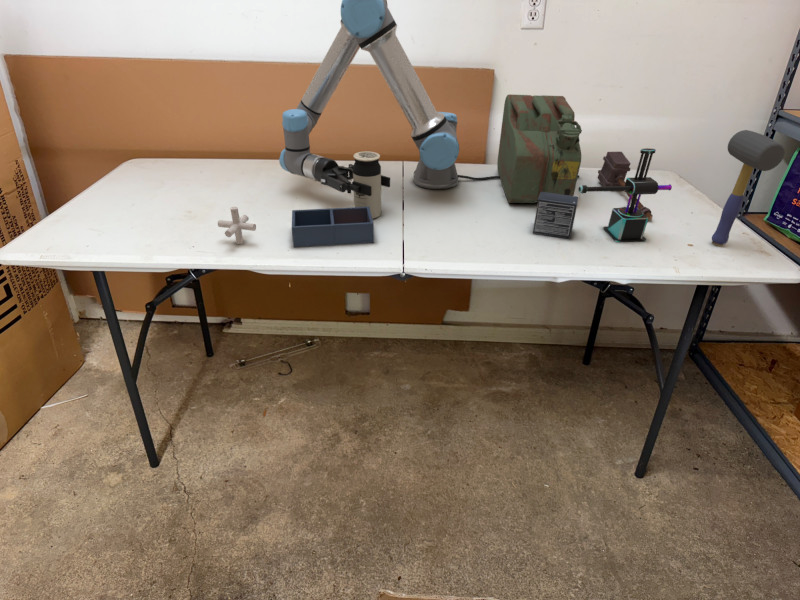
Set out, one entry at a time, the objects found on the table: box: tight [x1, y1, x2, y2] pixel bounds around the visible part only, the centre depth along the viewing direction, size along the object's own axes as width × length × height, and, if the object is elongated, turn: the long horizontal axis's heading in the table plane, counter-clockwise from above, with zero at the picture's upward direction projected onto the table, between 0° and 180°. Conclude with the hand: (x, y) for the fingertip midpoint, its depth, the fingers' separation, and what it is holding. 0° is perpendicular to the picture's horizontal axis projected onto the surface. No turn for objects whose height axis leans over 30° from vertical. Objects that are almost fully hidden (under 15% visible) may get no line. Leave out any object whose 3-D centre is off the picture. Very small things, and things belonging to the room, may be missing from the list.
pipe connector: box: [217, 206, 257, 245], centre depth 138 cm, size 10×10×10 cm
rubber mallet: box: [711, 129, 786, 247], centre depth 136 cm, size 12×8×30 cm, turn 5°
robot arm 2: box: [578, 147, 673, 243], centre depth 141 cm, size 25×9×24 cm, turn 96°
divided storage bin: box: [291, 206, 375, 248], centre depth 143 cm, size 21×11×6 cm, turn 99°
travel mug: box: [352, 150, 382, 220], centre depth 152 cm, size 8×8×18 cm
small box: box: [531, 192, 579, 240], centre depth 146 cm, size 11×6×10 cm, turn 71°
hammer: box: [597, 151, 654, 221], centre depth 167 cm, size 7×33×10 cm, turn 5°
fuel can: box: [496, 94, 583, 204], centre depth 169 cm, size 19×35×27 cm, turn 178°
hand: (380, 186), depth 149 cm, fingers closed on travel mug, 8 cm apart
